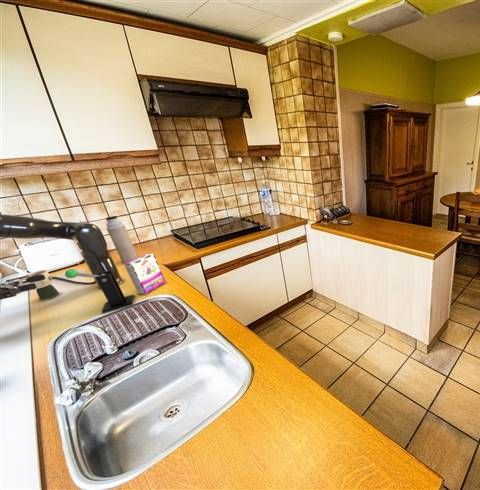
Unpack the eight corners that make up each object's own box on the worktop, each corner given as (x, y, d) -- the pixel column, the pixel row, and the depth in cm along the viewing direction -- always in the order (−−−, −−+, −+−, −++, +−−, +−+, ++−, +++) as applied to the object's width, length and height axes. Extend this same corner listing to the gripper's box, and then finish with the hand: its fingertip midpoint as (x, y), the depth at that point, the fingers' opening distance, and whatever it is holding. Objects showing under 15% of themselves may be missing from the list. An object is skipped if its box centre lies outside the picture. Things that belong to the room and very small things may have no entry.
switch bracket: (102, 313, 113) (85, 281, 107) (106, 304, 119) (90, 274, 113) (132, 304, 118) (117, 273, 112) (134, 296, 124) (120, 266, 118)
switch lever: (62, 279, 104) (64, 270, 104) (65, 275, 107) (67, 267, 107) (107, 283, 113) (110, 275, 112) (109, 280, 115) (111, 272, 115)
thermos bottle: (133, 257, 168) (114, 214, 157) (142, 258, 165) (123, 215, 154) (119, 262, 161) (98, 218, 150) (128, 264, 158) (107, 219, 147)
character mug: (65, 295, 128) (50, 272, 123) (43, 303, 123) (28, 279, 117) (56, 291, 133) (42, 268, 128) (35, 298, 127) (20, 275, 122)
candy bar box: (158, 281, 136) (146, 253, 129) (166, 282, 135) (154, 253, 128) (137, 294, 126) (122, 263, 119) (145, 294, 125) (131, 264, 118)
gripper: (-46, 296, 87) (26, 280, 95) (-21, 279, 98) (41, 265, 106) (-31, 314, 90) (38, 297, 98) (-9, 296, 101) (51, 281, 109)
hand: (39, 281), depth 102 cm, fingers open, 8 cm apart
